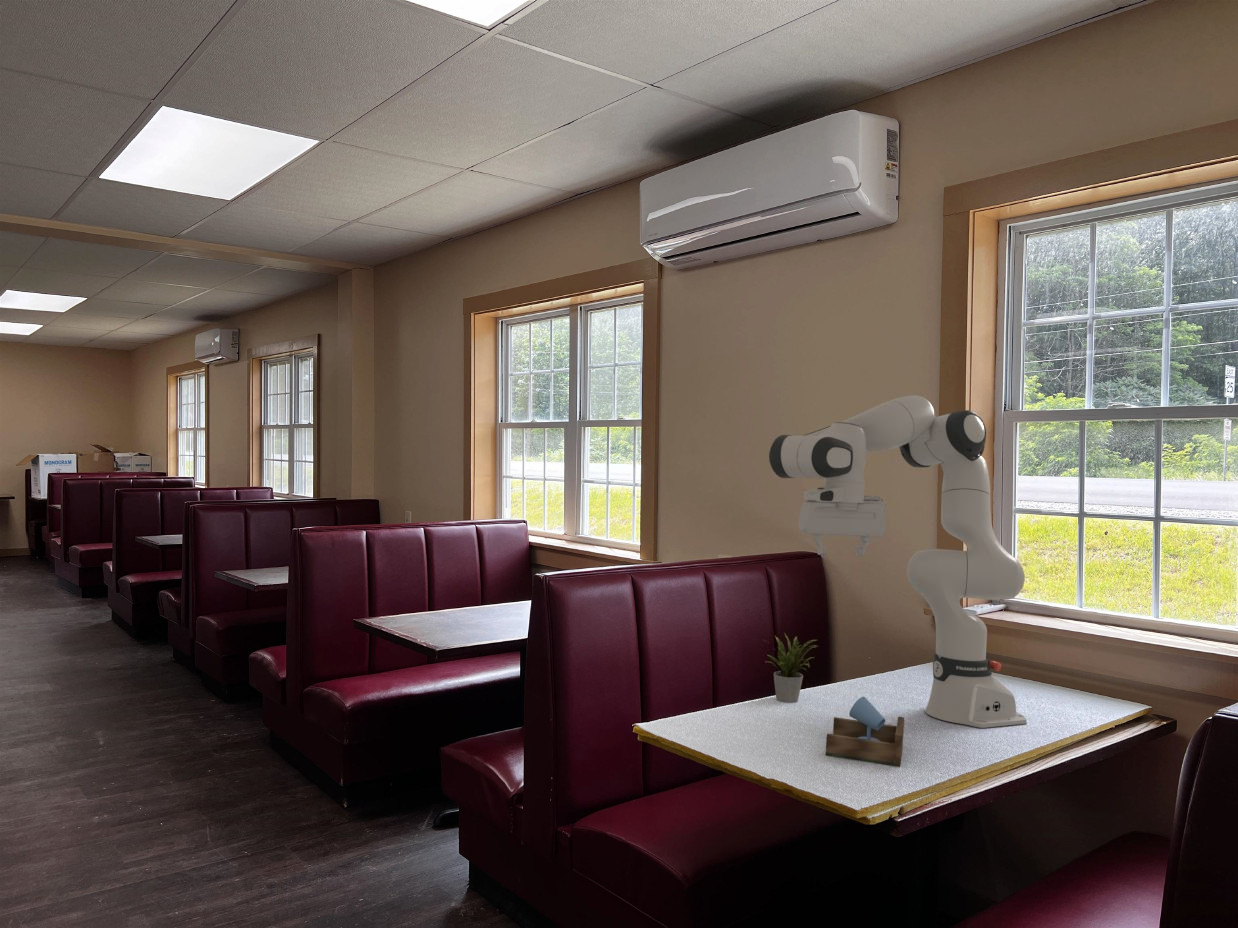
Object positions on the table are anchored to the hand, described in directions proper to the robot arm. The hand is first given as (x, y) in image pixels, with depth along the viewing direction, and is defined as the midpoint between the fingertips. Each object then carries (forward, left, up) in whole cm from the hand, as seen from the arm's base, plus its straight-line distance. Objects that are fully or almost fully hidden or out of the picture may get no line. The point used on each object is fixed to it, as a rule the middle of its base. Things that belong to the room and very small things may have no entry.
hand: (840, 555), depth 199 cm
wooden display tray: (+4, +22, -37) cm, 43 cm away
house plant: (+3, -15, -37) cm, 40 cm away
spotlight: (+4, +22, -37) cm, 43 cm away
